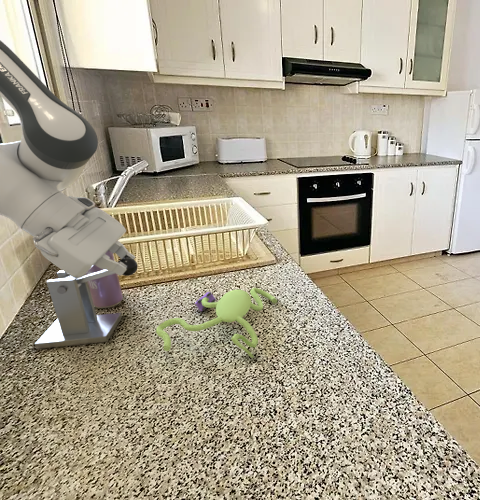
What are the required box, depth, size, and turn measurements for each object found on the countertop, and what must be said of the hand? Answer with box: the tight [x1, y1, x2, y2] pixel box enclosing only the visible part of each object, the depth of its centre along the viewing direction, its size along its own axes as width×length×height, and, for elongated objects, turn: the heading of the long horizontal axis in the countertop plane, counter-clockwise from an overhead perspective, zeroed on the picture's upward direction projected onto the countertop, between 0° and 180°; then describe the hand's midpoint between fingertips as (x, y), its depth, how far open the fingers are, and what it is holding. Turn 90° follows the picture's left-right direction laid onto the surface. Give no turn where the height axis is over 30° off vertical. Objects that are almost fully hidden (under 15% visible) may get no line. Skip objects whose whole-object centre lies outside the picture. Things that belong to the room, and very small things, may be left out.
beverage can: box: [86, 250, 124, 309], centre depth 84 cm, size 6×6×15 cm
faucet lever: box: [60, 257, 139, 287], centre depth 72 cm, size 14×4×4 cm, turn 103°
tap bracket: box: [34, 270, 123, 350], centre depth 73 cm, size 12×9×13 cm
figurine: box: [155, 287, 278, 359], centre depth 78 cm, size 18×27×6 cm
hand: (129, 266), depth 73 cm, fingers closed on faucet lever, 3 cm apart
